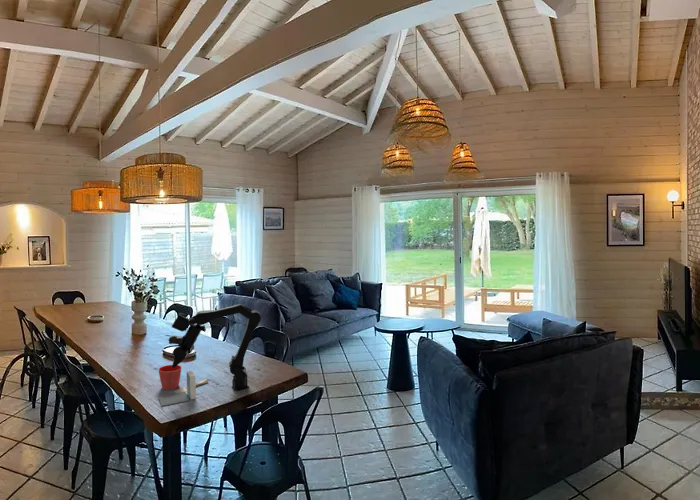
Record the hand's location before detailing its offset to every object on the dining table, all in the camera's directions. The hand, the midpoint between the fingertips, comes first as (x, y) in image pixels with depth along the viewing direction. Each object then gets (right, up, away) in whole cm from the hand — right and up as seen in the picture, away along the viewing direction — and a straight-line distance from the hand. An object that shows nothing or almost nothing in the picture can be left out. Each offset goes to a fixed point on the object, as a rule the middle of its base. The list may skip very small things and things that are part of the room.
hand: (175, 365), depth 211 cm
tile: (+8, -14, -2) cm, 17 cm away
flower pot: (-6, -14, +10) cm, 19 cm away
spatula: (+5, -14, +9) cm, 17 cm away
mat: (+1, -15, -6) cm, 16 cm away
